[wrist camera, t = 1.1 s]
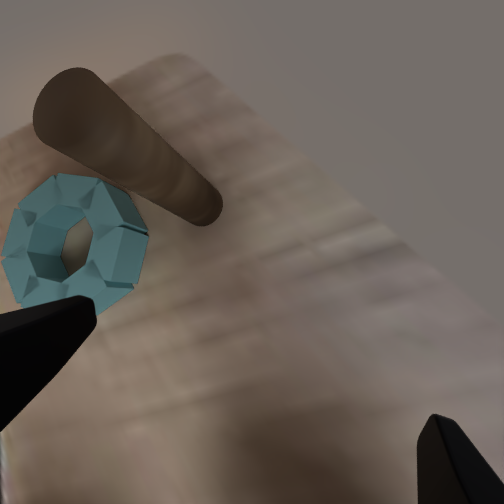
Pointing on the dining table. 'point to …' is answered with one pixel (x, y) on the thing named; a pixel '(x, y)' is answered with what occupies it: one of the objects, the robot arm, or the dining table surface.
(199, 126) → the dining table surface
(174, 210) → the brown post
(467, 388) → the dining table surface
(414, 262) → the dining table surface
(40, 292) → the bead
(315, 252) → the dining table surface
